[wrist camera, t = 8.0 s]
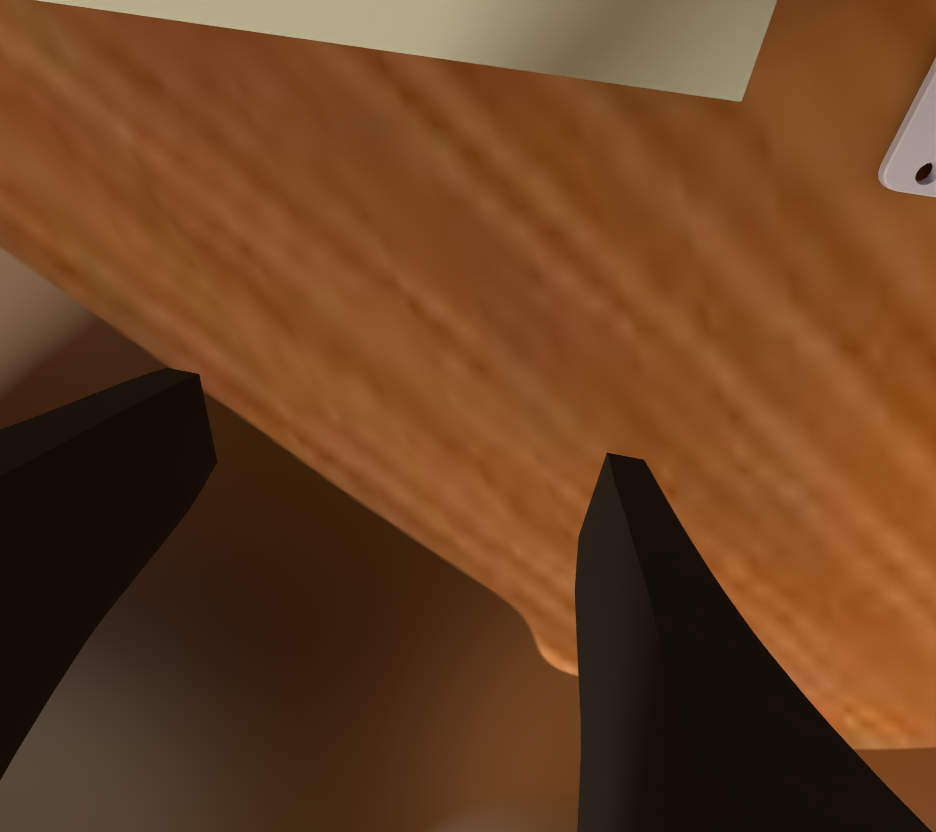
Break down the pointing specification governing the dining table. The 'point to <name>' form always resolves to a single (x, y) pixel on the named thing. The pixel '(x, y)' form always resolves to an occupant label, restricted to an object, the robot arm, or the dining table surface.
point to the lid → (517, 33)
